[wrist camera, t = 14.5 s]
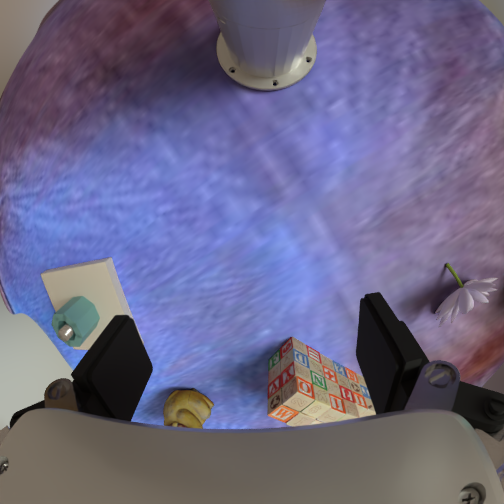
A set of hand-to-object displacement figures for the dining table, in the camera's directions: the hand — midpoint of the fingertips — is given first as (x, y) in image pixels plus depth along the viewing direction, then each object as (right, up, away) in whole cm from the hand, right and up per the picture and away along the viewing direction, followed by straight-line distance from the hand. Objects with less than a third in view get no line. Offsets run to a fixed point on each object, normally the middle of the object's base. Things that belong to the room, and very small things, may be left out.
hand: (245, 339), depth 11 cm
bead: (-28, -7, +30) cm, 42 cm away
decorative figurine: (-12, -25, +38) cm, 47 cm away
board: (-28, -6, +32) cm, 43 cm away
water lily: (+34, -3, +28) cm, 44 cm away
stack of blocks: (+13, -18, +34) cm, 41 cm away
